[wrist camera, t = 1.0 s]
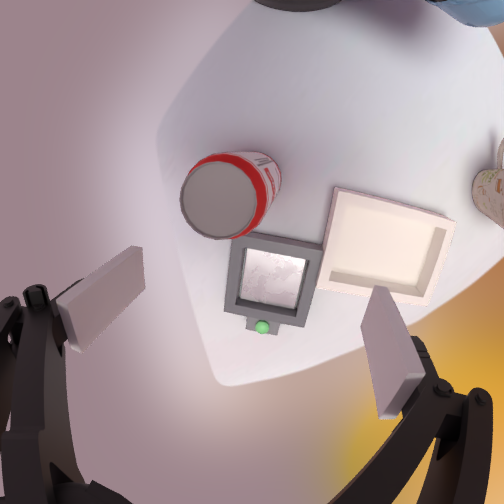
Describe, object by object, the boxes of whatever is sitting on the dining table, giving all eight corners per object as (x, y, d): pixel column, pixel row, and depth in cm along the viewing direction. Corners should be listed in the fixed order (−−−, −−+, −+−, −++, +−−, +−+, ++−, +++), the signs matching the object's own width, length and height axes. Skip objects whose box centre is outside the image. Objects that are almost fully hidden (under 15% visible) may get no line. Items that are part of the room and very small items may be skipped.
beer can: (222, 192, 34) (161, 227, 19) (239, 144, 31) (187, 139, 16) (270, 212, 33) (245, 262, 19) (290, 163, 31) (281, 173, 16)
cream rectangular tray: (334, 186, 31) (338, 190, 28) (444, 215, 29) (456, 222, 26) (314, 275, 35) (316, 287, 32) (418, 294, 34) (427, 306, 30)
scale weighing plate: (248, 245, 35) (247, 247, 34) (305, 256, 34) (305, 258, 34) (241, 295, 38) (240, 298, 37) (294, 305, 37) (293, 308, 36)
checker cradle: (236, 229, 35) (232, 234, 33) (323, 245, 34) (324, 252, 31) (226, 317, 40) (221, 326, 37) (300, 332, 39) (299, 342, 36)
